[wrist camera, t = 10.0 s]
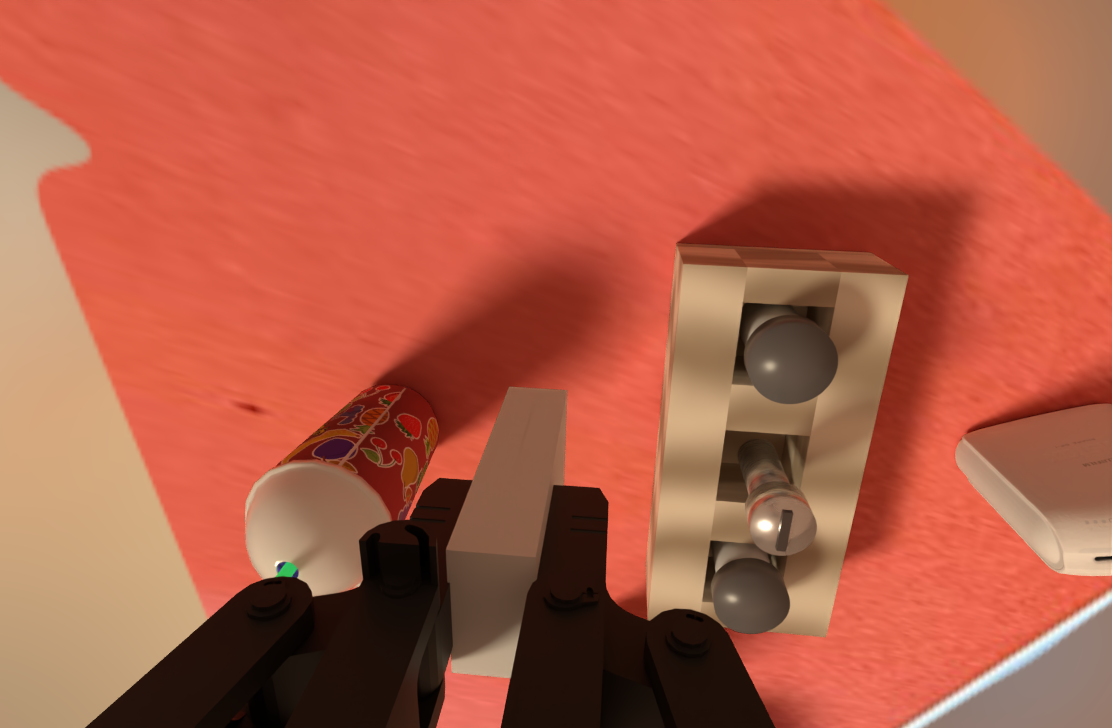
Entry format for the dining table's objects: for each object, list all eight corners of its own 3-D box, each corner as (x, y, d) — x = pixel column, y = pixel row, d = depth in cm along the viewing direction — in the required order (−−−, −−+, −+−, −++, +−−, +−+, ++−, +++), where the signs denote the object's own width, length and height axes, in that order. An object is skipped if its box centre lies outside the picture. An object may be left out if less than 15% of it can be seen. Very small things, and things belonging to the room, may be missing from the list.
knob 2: (705, 502, 47) (718, 571, 40) (770, 507, 47) (795, 578, 40) (698, 554, 49) (709, 630, 42) (761, 560, 49) (783, 637, 42)
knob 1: (733, 284, 42) (754, 321, 35) (808, 288, 41) (845, 326, 34) (724, 353, 43) (743, 401, 36) (796, 357, 43) (829, 407, 36)
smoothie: (349, 355, 47) (170, 514, 29) (462, 381, 47) (354, 559, 29) (339, 454, 51) (172, 655, 32) (445, 479, 50) (339, 696, 32)
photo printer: (1118, 392, 43) (1297, 496, 31) (1121, 449, 44) (1293, 569, 33) (948, 428, 45) (1058, 539, 33) (956, 482, 46) (1063, 606, 35)
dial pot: (732, 429, 42) (756, 502, 34) (788, 433, 42) (823, 507, 34) (726, 475, 43) (747, 556, 35) (779, 480, 43) (812, 562, 35)
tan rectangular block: (676, 243, 42) (683, 264, 37) (870, 252, 41) (908, 275, 36) (645, 564, 51) (647, 620, 46) (804, 578, 50) (826, 637, 45)
